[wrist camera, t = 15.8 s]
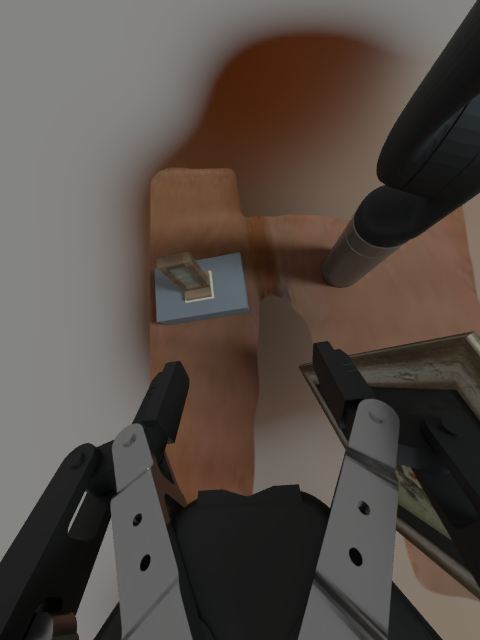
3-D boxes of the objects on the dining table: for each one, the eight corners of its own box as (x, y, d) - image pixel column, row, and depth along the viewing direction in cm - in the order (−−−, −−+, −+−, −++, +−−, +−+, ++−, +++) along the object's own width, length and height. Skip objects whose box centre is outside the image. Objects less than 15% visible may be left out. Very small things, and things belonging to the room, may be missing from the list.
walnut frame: (211, 296, 44) (190, 272, 31) (187, 300, 45) (157, 279, 32) (209, 273, 45) (187, 240, 33) (185, 277, 46) (155, 247, 33)
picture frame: (298, 366, 44) (366, 388, 14) (336, 346, 43) (484, 328, 14) (385, 520, 36) (877, 1189, 7) (431, 497, 36) (1133, 1092, 7)
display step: (242, 262, 50) (239, 251, 45) (249, 312, 48) (247, 307, 42) (164, 276, 52) (154, 267, 47) (167, 325, 50) (156, 321, 45)
